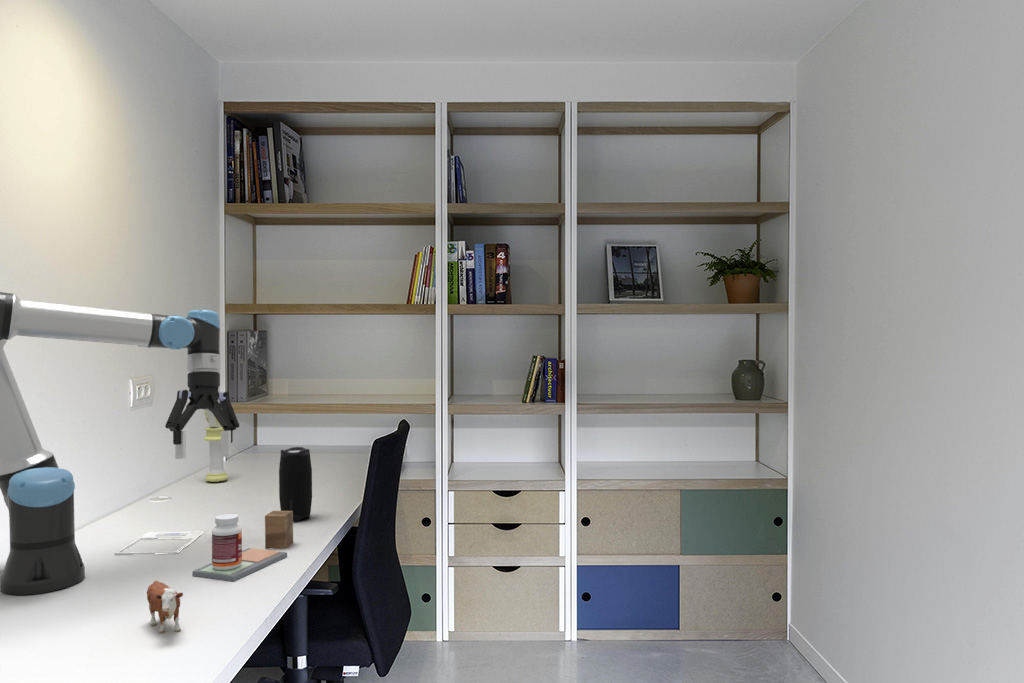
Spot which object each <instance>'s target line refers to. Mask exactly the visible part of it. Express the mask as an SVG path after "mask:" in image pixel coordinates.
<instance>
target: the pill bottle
mask: <svg viewBox="0 0 1024 683" xmlns="http://www.w3.org/2000/svg"><path fill="white" fill-rule="evenodd" d="M214 519H215V520H214V523H215V526H214V527H213V529H212V530H211V563H212V567H213V568H214V569H217V570H230V569H234V568H237V567H239V566H241V564H242V550H243V545H242V544H243V538H242V533H243V529H242V527H241V525H240V524H238V522H239V516H238V514H236V513H235V514H234V513H225V514H220V515H216V516H215V518H214Z"/></svg>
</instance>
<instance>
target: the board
mask: <svg viewBox="0 0 1024 683" xmlns="http://www.w3.org/2000/svg"><path fill="white" fill-rule="evenodd" d="M286 558H288V552H287V551H280V550H279V551H277V550H272V549H269V550H268V549H262V548H251V547H248V548H245V549H242V564H241V566H239V567H237V568H234V569H230V570H217V569H214V568H213V567H212V562H211V563H209V564H206V565H204V566H201V567H200V568H197V569H193V570H192V572H191V574H192V575H195V576H194V577H198V576H201V577H200V578H205V577H208V578H207V579H212V578H214V579H213V580H219V579H220V580H221V581H227V582H235V580H236V581H237V580H240V579H242V578H244V577H246V576H248V575H250V574H253V573H255V572H257V571H260V570H261V569H264V568H266V567H268V566H270V565H273V564H275V563H277V562H279V561H281V560H283V559H286ZM220 580H219V581H220Z"/></svg>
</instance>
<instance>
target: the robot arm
mask: <svg viewBox="0 0 1024 683" xmlns="http://www.w3.org/2000/svg"><path fill="white" fill-rule="evenodd" d="M220 331H221V327H220V317H219V314H218V313H217V312H216V311H215V310H214V311H213V310H209V309H193V310H190V311H188V313H187V316H186V317H184V316H182V315H176V314H174V315H167V314H165V315H164V314H157V313H147V312H140V311H130V310H121V309H120V310H119V309H111V308H104V307H103V308H102V307H96V306H95V307H93V306H92V307H91V306H84V305H75V304H67V303H58V302H57V303H56V302H49V301H48V302H47V301H39V300H32V299H31V300H30V299H22V298H20V297H18V295H16V294H15V293H10V292H4V291H3V292H1V291H0V491H1V493H2V494H1V495H2V496H3V501H4V503H5V505H6V507H7V510H8V516H9V518H8V520H9V553H8V556H7V560H6V562H5V566H4V568H3V573H2V575H1V576H0V591H1V592H2V593H4V594H7V595H14V596H16V595H17V596H22V595H23V596H25V595H28V596H29V595H37V594H38V595H39V594H44V593H49V592H53V591H57V590H62V589H66V588H68V587H71V586H73V585H74V586H75V585H77V584H79V582H82V581H83V580H85V578H86V569H85V568H86V567H85V563H84V562H83V560H82V556H81V554H80V551H79V549H78V547H77V544H76V537H75V536H76V534H75V533H76V532H75V531H76V530H75V526H76V524H75V489H76V487H75V486H76V484H75V482H74V475H73V474H72V472H71V471H70V470H68V469H65V468H59V465H58V463H57V461H56V457H55V455H54V452H52V451H49V450H46V449H44V448H43V446H42V444H41V442H40V438H39V436H38V433H37V431H36V429H35V426H34V424H33V420H32V419H31V416H30V414H29V410H28V408H27V405H26V402H25V400H24V398H23V396H22V393H21V390H20V388H19V385H18V383H17V380H16V378H15V375H14V373H13V370H12V367H11V365H10V362H9V360H8V358H7V355H6V352H5V350H4V348H5V345H6V343H7V342H8V341H9V340H11V339H13V338H14V337H16V336H18V337H19V336H20V337H29V338H31V337H32V338H40V339H41V338H42V339H44V338H45V339H54V340H67V341H78V342H79V341H80V342H90V343H91V342H93V343H103V344H114V345H115V344H116V345H127V346H138V347H143V348H149V349H150V348H156V349H157V348H160V349H161V348H162V349H169V350H182V349H186V350H187V365H186V366H187V369H186V370H187V371H188V372H189V373H188V374H187V388H189V389H181V390H178V391H177V393H176V400H175V402H174V404H173V407H172V409H171V412H170V413H169V417H168V418H167V421H166V422H165V425H164V426H165V428H166V429H167V430H168V429H169V431H170V432H172V443H173V445H174V446H175V451H174V452H175V455H174V456H175V460H179V459H180V460H181V459H186V458H187V453H186V452H187V450H186V448H187V441H186V440H187V439H186V438H187V435H186V434H187V431H186V430H183V429H184V428H185V427H186V425H187V424H188V423H189V421H190V420H191V419H192V417H193V415H194V414H195V413H196V411H197V410H198V411H199V410H204V411H205V410H206V411H207V409H208V410H209V411H211V412H212V413H213V415H214V416H215V418H216V419H217V421H218V422H219V423H220V425H221V426H222V428H223V429H224V431H221V457H223V458H224V457H225V458H226V457H232V443H233V442H234V440H233V436H234V435H233V431H235V430H236V429H237V428H240V423H239V420H238V417H237V415H236V412H235V411H234V408H233V405H232V403H231V401H230V400H231V399H230V392H228V391H221V392H220V391H219V388H220V386H221V374H220V372H218V371H220V369H221V368H220V367H221V366H220V365H221V363H220V362H221V361H220V360H221V359H220V358H221V356H220V342H221V341H220V339H221V337H220V333H221V332H220ZM188 399H189V402H188ZM187 402H188V403H187ZM221 408H222V409H221Z"/></svg>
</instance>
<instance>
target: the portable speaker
mask: <svg viewBox="0 0 1024 683" xmlns="http://www.w3.org/2000/svg"><path fill="white" fill-rule="evenodd" d="M310 452H311V451H310V449H309V448H304V447H303V446H295V447H294V446H293V447H290V448H287V449H280V455H279V456H280V457H279V458H280V459H279V468H278V492H279V493H278V494H279V496H278V498H279V507H280V511H293V523H297V522H299V521H300V520H301V519H303V518H304V519H305V518H306V519H308V520H309V519H310V518H311V512H312V501H313V470H312V468H313V467H312V461H311V453H310Z"/></svg>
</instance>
